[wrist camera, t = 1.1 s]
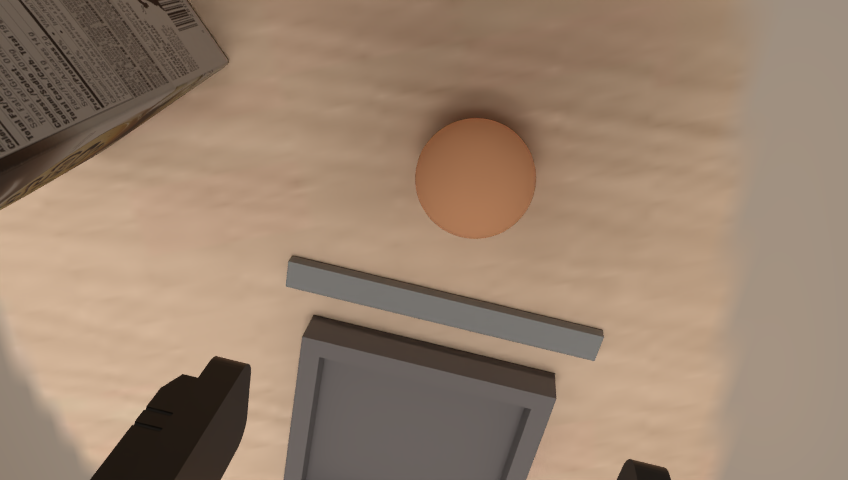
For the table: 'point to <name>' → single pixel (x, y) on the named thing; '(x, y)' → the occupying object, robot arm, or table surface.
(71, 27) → the coffee box
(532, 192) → the ball
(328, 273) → the distance line
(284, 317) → the table surface
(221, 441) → the robot arm
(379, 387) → the tray
